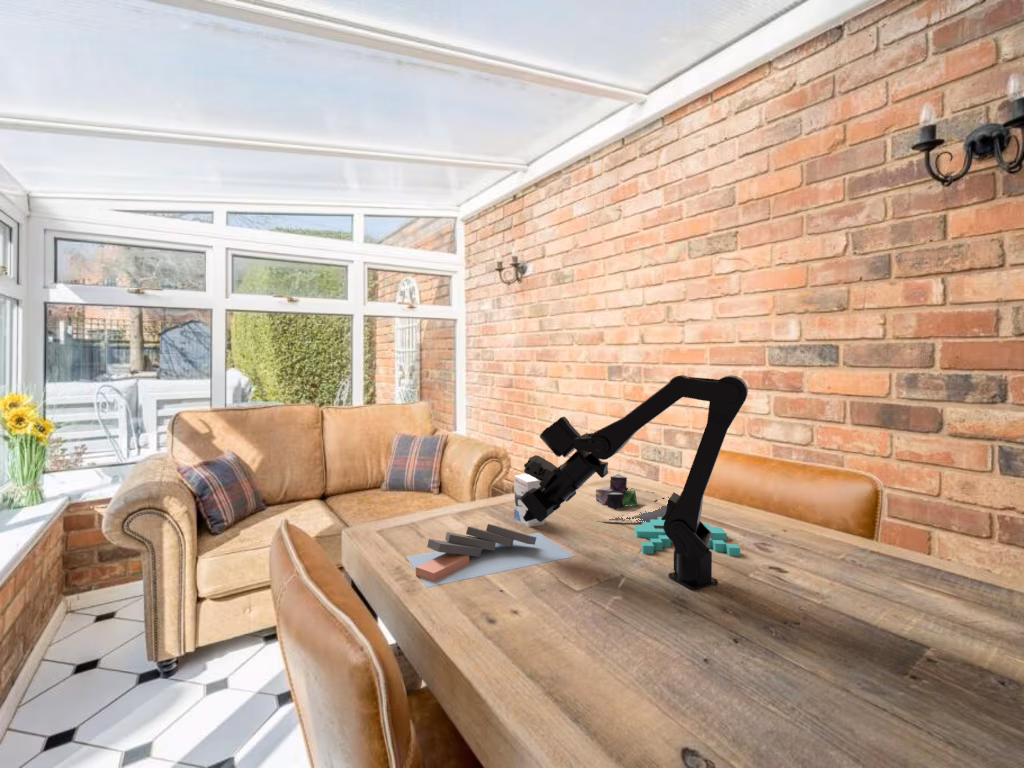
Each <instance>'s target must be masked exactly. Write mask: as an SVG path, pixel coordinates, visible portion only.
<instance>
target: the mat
mask: <svg viewBox="0 0 1024 768" xmlns="http://www.w3.org/2000/svg"><path fill="white" fill-rule="evenodd" d="M527 535H530V536H533V537H537V538H536V542H535V545H533V544H526V543H523V542H520V541H516V540H514V541H513V545H512V546H511V547H509V546H505V545H502V544H498V543H496V545H495V550H494V551H492V550H487V549H482V548H481V549H482V550H481V555H480V557H478V556H469V555H468V556H469V564H468V565H466V566H464V567H462V568H460V569H458V570H456V571H454V572H452V573H450V574H448V575H446V576H444V577H442V578H440V579H438V580H436V581H431V580H428V579H426V578H423V577H420V576H418V578H420V580H421V581H422V583H423V584H424V586H425V587H426V588H429V587H435V586H439V585H445V584H449V583H453V582H458V581H465V580H469V579H473V578H478V577H482V576H488V575H492V574H497V573H501V572H506V571H507V572H508V571H510V570H516V569H522V568H527V567H531V566H535V565H540V564H544V563H545V564H546V563H550V562H555V561H559V560H564V559H569V558H573V557H575V555H574V554H572V553H571V552H569V551H568V550H566V549H564V548H563V547H562V546H561V545H559V544H558V543H555V542H554V541H552V540H551V539H550V538H548V537H547V536H545V535H543V534H541V532H534V533H529V534H527ZM443 554H445V553H443V552H437V551H435V550H433V551H429V552H424V553H418V554H412V555H408V556H406V555H405V558H406V559H407V561H408V562H409V564H410V565H411V567H412V568H413V570H414V571H415V572H416V567H417V566H419V565H421V564H423V563H425V562H427V561H430V560H432V559H434V558H436V557H438V556H440V555H443Z"/></svg>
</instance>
